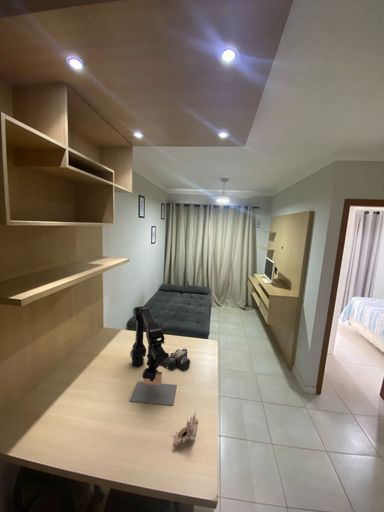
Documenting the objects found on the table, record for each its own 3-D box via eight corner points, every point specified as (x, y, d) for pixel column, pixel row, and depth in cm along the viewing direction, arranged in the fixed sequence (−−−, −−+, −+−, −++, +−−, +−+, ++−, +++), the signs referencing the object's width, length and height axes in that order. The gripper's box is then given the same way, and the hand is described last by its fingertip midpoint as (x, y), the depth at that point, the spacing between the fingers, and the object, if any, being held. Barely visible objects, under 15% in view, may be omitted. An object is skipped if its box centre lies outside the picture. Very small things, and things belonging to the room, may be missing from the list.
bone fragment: (187, 419, 102) (201, 406, 100) (197, 435, 98) (211, 421, 96) (168, 435, 89) (183, 420, 87) (178, 454, 85) (193, 439, 83)
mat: (129, 401, 108) (129, 400, 108) (137, 382, 122) (137, 381, 122) (173, 405, 107) (173, 404, 107) (176, 385, 121) (176, 384, 121)
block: (143, 383, 112) (143, 372, 112) (144, 380, 114) (144, 370, 114) (160, 385, 112) (161, 374, 111) (161, 382, 114) (162, 371, 113)
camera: (177, 376, 129) (178, 360, 128) (165, 368, 136) (166, 353, 135) (194, 365, 141) (195, 350, 140) (183, 358, 148) (184, 344, 147)
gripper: (166, 364, 101) (164, 394, 103) (172, 343, 120) (170, 369, 122) (142, 362, 102) (141, 392, 104) (151, 341, 120) (150, 367, 122)
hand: (152, 379), depth 113 cm, fingers closed on block, 2 cm apart
